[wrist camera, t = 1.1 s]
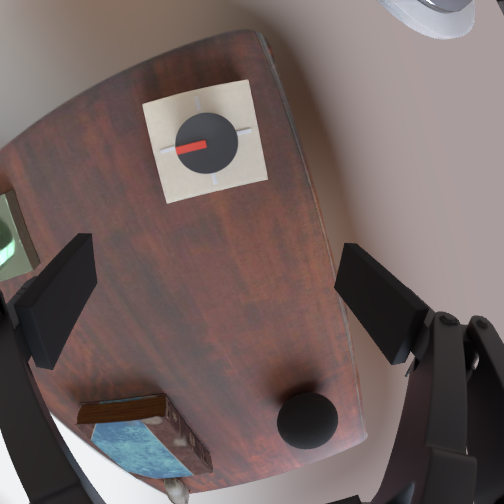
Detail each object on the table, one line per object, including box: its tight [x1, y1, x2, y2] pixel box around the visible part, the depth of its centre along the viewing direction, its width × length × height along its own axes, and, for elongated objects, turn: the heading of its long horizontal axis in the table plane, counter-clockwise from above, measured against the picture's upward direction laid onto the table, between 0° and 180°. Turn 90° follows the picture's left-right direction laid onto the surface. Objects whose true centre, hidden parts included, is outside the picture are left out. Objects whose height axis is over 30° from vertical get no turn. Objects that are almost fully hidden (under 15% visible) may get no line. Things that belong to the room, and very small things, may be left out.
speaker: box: [277, 393, 338, 449], centre depth 42 cm, size 10×10×10 cm
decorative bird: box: [164, 477, 190, 504], centre depth 52 cm, size 5×16×8 cm, turn 1°
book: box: [75, 393, 213, 479], centre depth 44 cm, size 23×18×5 cm
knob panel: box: [142, 79, 268, 203], centre depth 27 cm, size 10×10×3 cm
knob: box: [175, 113, 238, 174], centre depth 23 cm, size 4×4×7 cm
